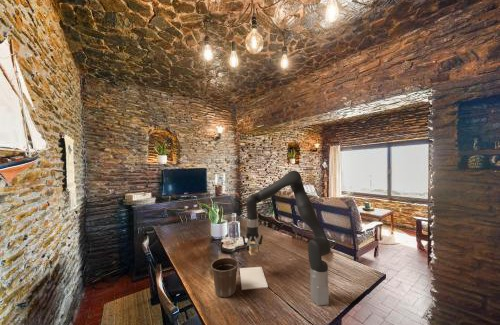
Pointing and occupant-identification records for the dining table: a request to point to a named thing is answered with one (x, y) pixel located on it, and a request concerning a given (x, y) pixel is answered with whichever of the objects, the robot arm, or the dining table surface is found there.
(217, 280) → the plant pot
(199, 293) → the dining table surface
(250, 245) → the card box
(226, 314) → the dining table surface
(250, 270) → the felt mat
